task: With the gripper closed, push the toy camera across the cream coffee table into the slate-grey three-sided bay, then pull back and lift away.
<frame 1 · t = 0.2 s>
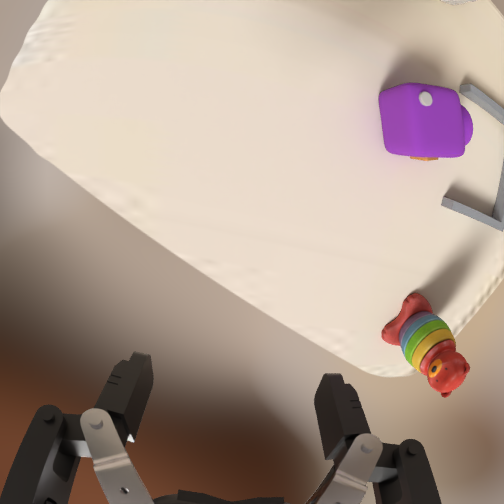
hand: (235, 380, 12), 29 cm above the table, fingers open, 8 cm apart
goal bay: (480, 158, 34), on the table
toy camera: (412, 122, 33), on the table
stacking bear: (410, 321, 45), on the table
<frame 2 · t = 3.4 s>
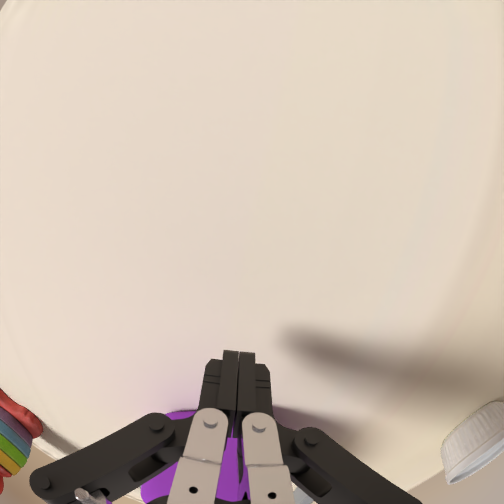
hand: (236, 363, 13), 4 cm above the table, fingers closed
ramekin: (471, 424, 24), on the table
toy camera: (233, 438, 21), on the table
stacking bear: (19, 411, 25), on the table
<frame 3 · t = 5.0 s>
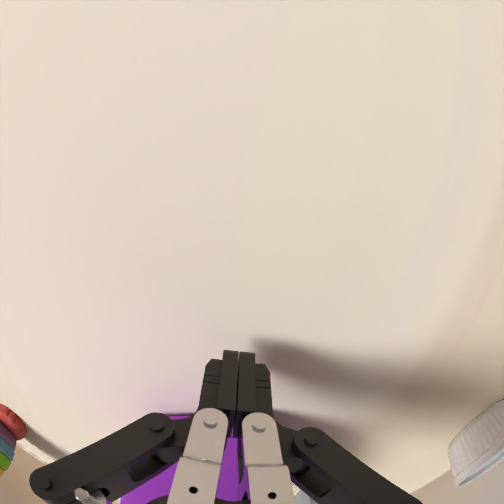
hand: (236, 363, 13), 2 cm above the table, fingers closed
ramekin: (479, 424, 22), on the table
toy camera: (226, 445, 19), on the table
stacking bear: (2, 411, 22), on the table
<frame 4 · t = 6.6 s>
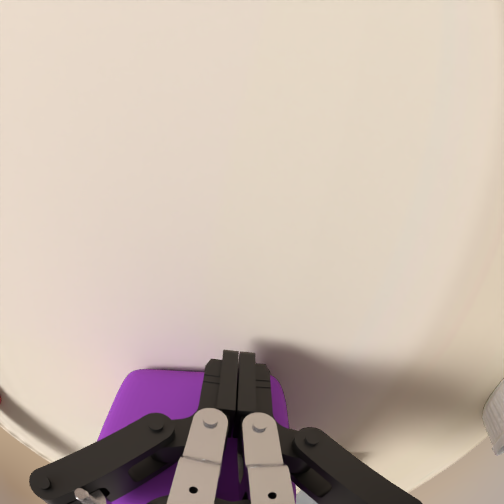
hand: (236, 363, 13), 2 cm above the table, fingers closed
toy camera: (215, 419, 17), on the table
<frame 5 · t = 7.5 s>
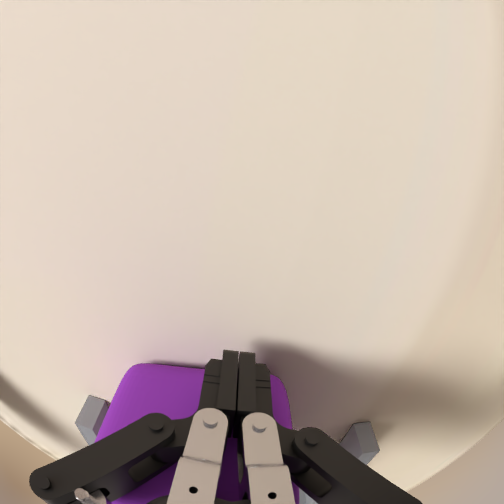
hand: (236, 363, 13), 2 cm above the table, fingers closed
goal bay: (224, 463, 20), on the table
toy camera: (211, 417, 17), on the table, touching gripper
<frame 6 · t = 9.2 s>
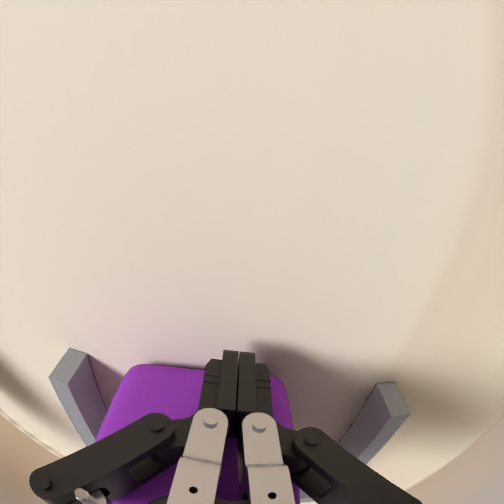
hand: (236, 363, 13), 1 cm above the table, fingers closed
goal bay: (224, 440, 18), on the table
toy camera: (212, 418, 17), on the table, touching gripper, hand
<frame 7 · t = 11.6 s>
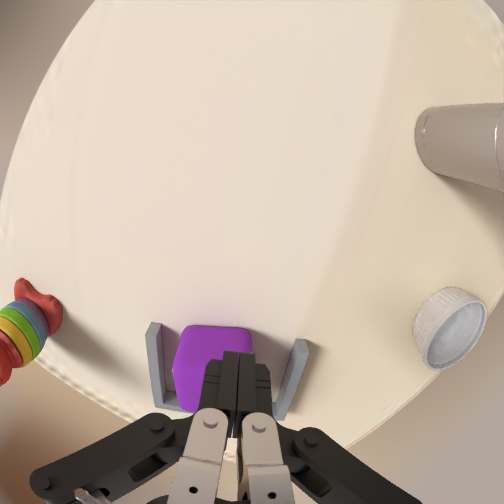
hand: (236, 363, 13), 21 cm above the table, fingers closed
ramekin: (437, 314, 38), on the table
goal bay: (224, 370, 40), on the table
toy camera: (218, 355, 39), on the table
stacking bear: (39, 309, 36), on the table
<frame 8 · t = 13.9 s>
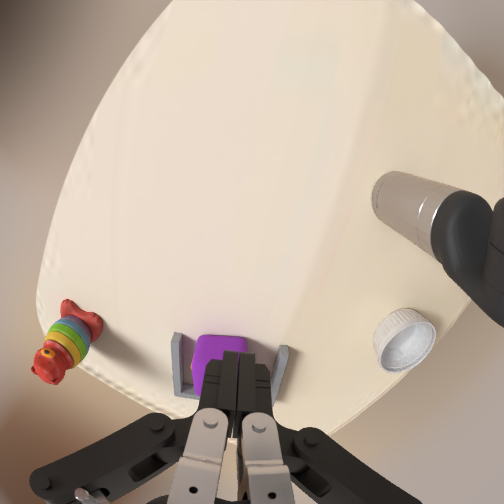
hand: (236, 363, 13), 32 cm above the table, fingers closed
ramekin: (395, 328, 52), on the table
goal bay: (227, 367, 54), on the table
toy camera: (223, 356, 53), on the table
stacking bear: (81, 322, 51), on the table
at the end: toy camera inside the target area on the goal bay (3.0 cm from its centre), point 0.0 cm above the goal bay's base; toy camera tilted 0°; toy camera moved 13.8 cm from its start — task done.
